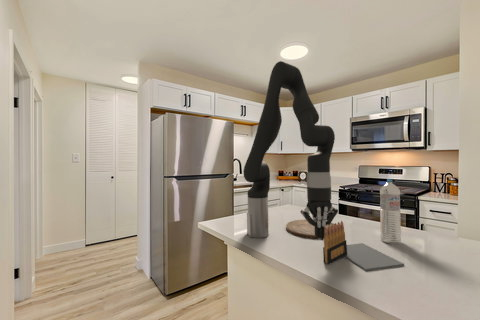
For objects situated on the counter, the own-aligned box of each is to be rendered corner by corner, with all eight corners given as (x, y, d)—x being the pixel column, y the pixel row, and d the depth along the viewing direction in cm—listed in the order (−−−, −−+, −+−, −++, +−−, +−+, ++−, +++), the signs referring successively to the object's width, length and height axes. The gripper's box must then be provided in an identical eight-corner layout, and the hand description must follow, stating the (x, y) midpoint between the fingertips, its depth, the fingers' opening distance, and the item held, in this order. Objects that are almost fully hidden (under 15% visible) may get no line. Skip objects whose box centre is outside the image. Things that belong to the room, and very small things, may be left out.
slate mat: (365, 271, 69) (365, 269, 69) (330, 248, 87) (330, 246, 87) (404, 265, 72) (404, 263, 72) (362, 244, 90) (362, 243, 90)
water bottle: (398, 239, 94) (398, 179, 94) (402, 245, 88) (401, 180, 87) (379, 237, 97) (378, 178, 96) (381, 243, 90) (380, 180, 90)
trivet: (351, 239, 97) (351, 234, 97) (291, 240, 97) (291, 235, 97) (329, 222, 122) (329, 219, 122) (282, 223, 122) (282, 219, 122)
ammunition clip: (328, 265, 73) (326, 228, 73) (323, 262, 75) (321, 227, 74) (347, 254, 79) (345, 220, 79) (342, 252, 81) (340, 219, 80)
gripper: (305, 187, 71) (306, 243, 71) (343, 185, 73) (344, 239, 73) (295, 185, 78) (296, 235, 78) (330, 183, 81) (331, 232, 81)
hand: (319, 237), depth 76 cm, fingers closed
